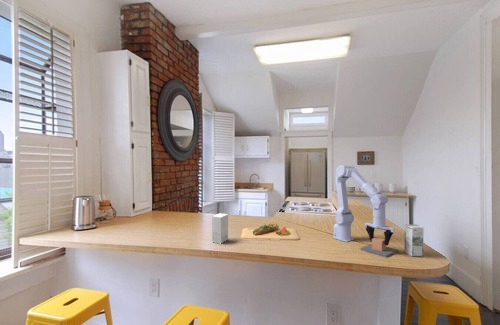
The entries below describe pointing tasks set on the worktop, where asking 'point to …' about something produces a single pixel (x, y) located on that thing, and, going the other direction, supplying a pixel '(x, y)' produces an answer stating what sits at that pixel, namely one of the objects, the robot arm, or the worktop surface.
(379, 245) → the cube
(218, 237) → the skincare box
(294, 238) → the cutting board
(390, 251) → the mat
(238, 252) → the worktop surface
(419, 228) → the syrup box
